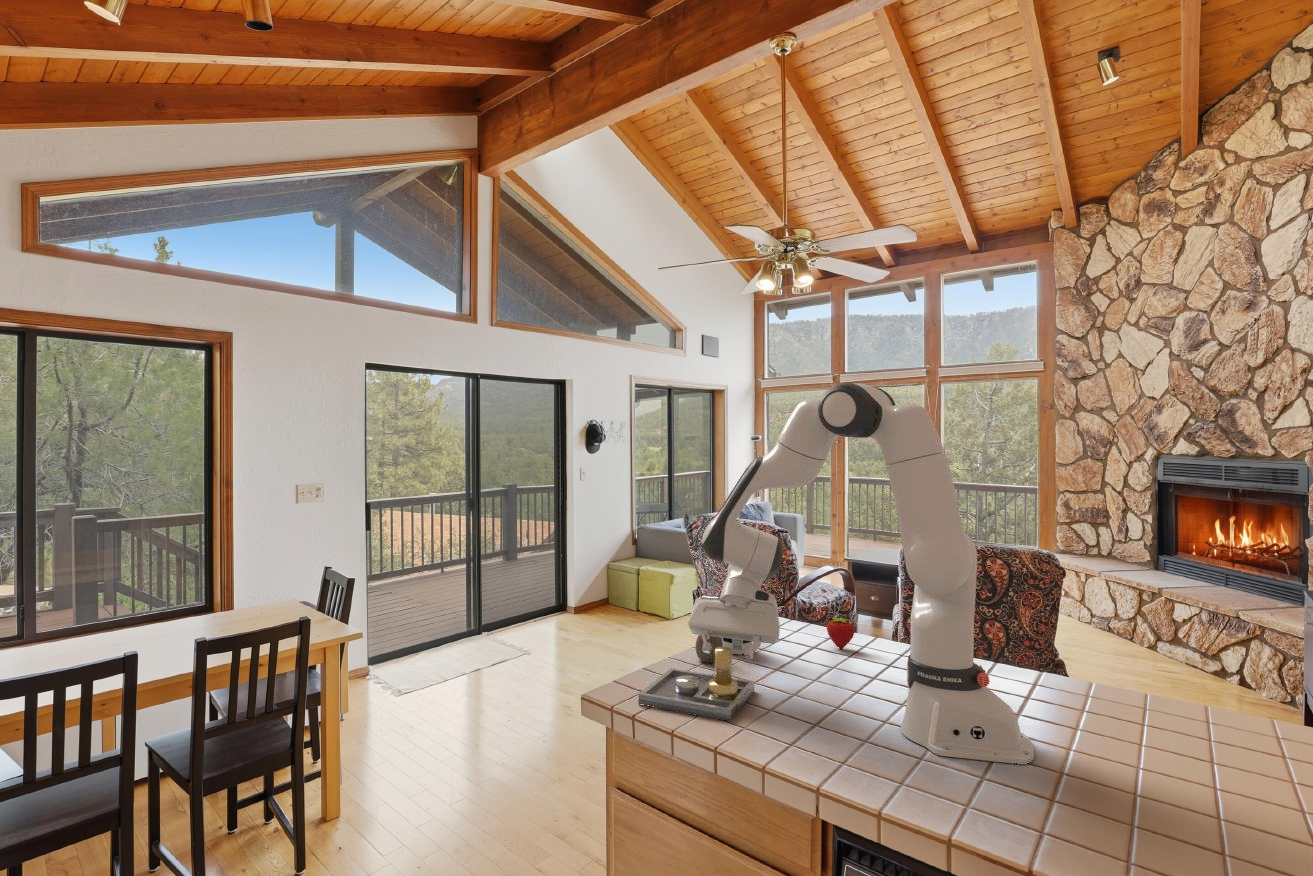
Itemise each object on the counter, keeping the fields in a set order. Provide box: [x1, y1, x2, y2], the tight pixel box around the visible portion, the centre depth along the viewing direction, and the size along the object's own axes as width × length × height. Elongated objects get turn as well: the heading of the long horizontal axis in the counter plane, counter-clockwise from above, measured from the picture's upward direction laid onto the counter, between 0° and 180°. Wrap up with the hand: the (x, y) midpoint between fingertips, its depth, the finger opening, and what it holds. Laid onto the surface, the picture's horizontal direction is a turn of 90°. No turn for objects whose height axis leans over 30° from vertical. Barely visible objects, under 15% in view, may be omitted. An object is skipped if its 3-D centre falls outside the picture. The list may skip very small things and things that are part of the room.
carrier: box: [637, 668, 755, 722], centre depth 142 cm, size 20×18×4 cm
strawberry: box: [826, 612, 855, 649], centre depth 179 cm, size 6×8×10 cm
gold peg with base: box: [709, 647, 737, 701], centre depth 140 cm, size 6×6×10 cm
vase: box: [695, 635, 723, 664], centre depth 168 cm, size 7×7×9 cm
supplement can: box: [721, 637, 753, 656], centre depth 176 cm, size 8×8×15 cm
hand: (726, 654), depth 142 cm, fingers open, 8 cm apart
